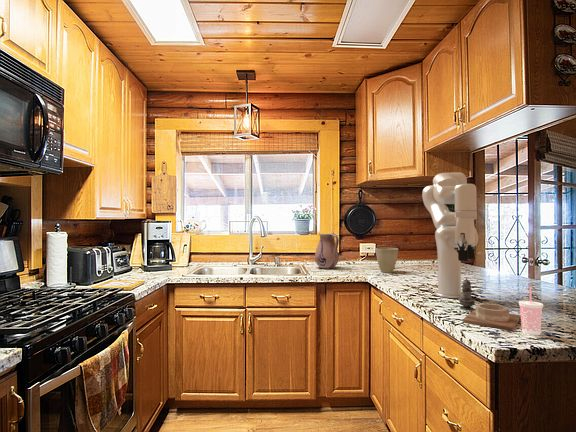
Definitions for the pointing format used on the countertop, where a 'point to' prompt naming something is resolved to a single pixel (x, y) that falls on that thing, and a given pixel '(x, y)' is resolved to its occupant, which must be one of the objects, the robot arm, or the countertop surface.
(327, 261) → the ceramic pitcher
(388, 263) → the plant pot
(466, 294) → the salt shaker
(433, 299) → the countertop surface
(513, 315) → the board
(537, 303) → the beverage cup
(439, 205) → the robot arm
